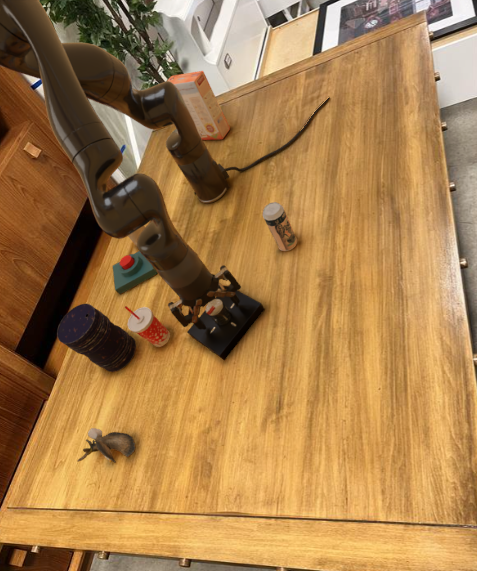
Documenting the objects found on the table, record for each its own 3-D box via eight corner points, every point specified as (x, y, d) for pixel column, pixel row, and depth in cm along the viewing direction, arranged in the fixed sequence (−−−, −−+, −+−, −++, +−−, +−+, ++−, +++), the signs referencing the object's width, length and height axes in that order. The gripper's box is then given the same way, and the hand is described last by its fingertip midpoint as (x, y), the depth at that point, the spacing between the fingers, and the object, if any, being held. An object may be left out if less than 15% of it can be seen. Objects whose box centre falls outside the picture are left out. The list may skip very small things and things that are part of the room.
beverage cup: (177, 337, 89) (142, 305, 79) (156, 355, 89) (118, 325, 78) (166, 321, 93) (132, 289, 83) (146, 338, 93) (109, 308, 82)
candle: (149, 246, 113) (129, 223, 105) (134, 249, 115) (113, 226, 108) (154, 232, 116) (135, 208, 108) (139, 235, 118) (119, 212, 111)
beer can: (292, 253, 90) (276, 218, 81) (275, 250, 92) (257, 216, 84) (301, 237, 92) (286, 201, 83) (283, 235, 94) (267, 199, 85)
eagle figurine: (87, 477, 76) (119, 474, 72) (68, 449, 75) (99, 444, 70) (111, 447, 83) (142, 443, 78) (94, 421, 81) (124, 415, 77)
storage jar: (105, 380, 90) (58, 352, 79) (98, 349, 97) (54, 320, 86) (140, 356, 90) (98, 326, 79) (131, 327, 97) (92, 295, 86)
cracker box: (231, 128, 133) (203, 69, 117) (222, 140, 130) (193, 81, 115) (201, 129, 141) (171, 74, 125) (192, 140, 138) (161, 85, 123)
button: (134, 256, 107) (130, 252, 106) (135, 265, 105) (131, 261, 103) (122, 263, 107) (119, 259, 106) (124, 271, 105) (120, 267, 104)
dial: (222, 307, 86) (213, 295, 82) (235, 314, 83) (226, 302, 80) (211, 321, 85) (201, 309, 81) (223, 328, 82) (213, 317, 79)
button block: (152, 250, 111) (144, 241, 108) (157, 273, 105) (149, 264, 102) (117, 270, 113) (108, 261, 110) (119, 294, 106) (110, 286, 103)
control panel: (230, 290, 91) (226, 284, 89) (265, 309, 84) (261, 302, 82) (192, 337, 87) (186, 331, 86) (224, 360, 81) (219, 355, 79)
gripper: (156, 305, 68) (199, 346, 80) (223, 258, 68) (255, 306, 80) (145, 280, 73) (186, 322, 85) (207, 237, 74) (240, 285, 85)
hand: (220, 315), depth 83 cm, fingers open, 8 cm apart
